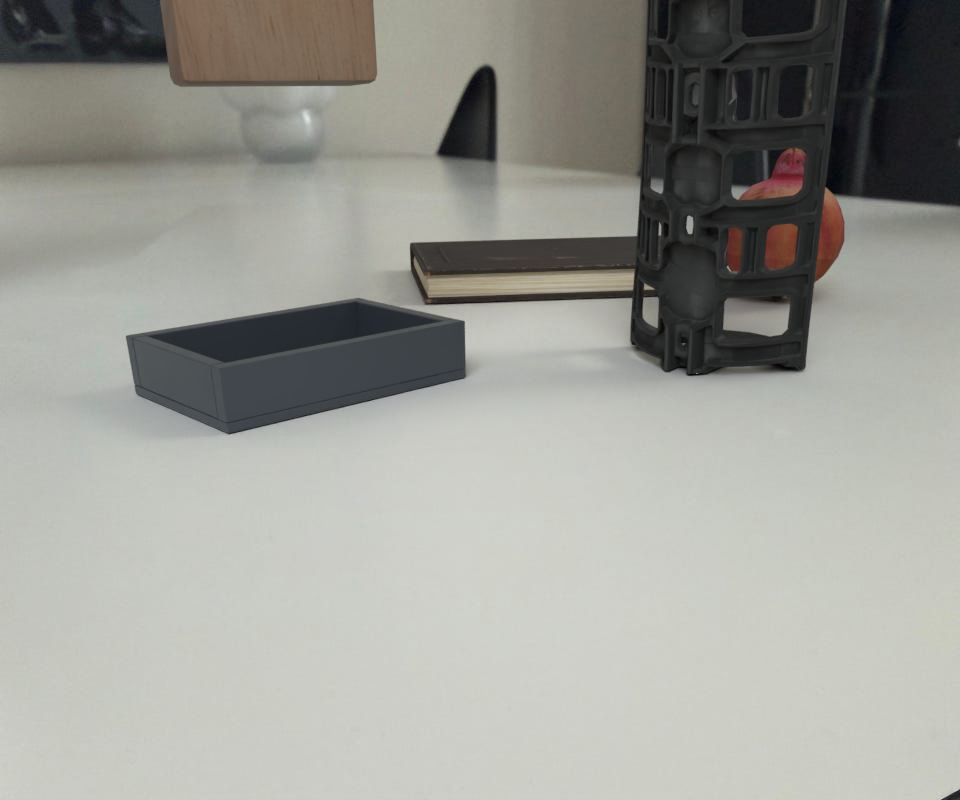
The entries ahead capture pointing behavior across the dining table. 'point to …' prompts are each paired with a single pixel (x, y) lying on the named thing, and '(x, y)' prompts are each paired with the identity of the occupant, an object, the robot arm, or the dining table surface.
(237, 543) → the dining table surface
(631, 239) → the hardcover book
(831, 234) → the fruit
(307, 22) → the wooden block
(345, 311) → the tray
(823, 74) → the holder
